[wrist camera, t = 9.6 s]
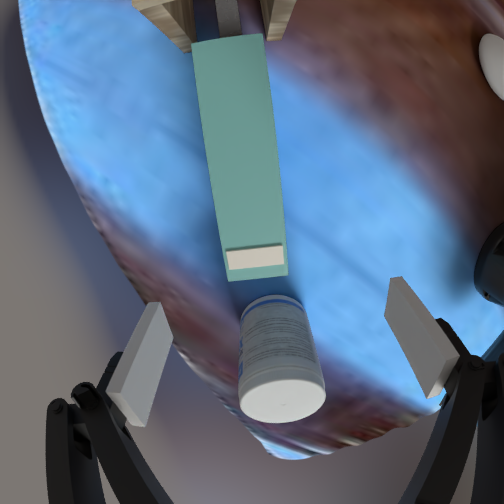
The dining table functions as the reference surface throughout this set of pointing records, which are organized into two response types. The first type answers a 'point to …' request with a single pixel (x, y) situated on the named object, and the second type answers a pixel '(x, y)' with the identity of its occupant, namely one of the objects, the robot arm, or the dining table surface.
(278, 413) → the supplement tub
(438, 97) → the dining table surface
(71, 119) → the dining table surface
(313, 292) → the dining table surface
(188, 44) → the tunnel
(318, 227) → the dining table surface
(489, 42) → the flower in vase
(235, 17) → the rail
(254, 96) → the beige-capped teal block
